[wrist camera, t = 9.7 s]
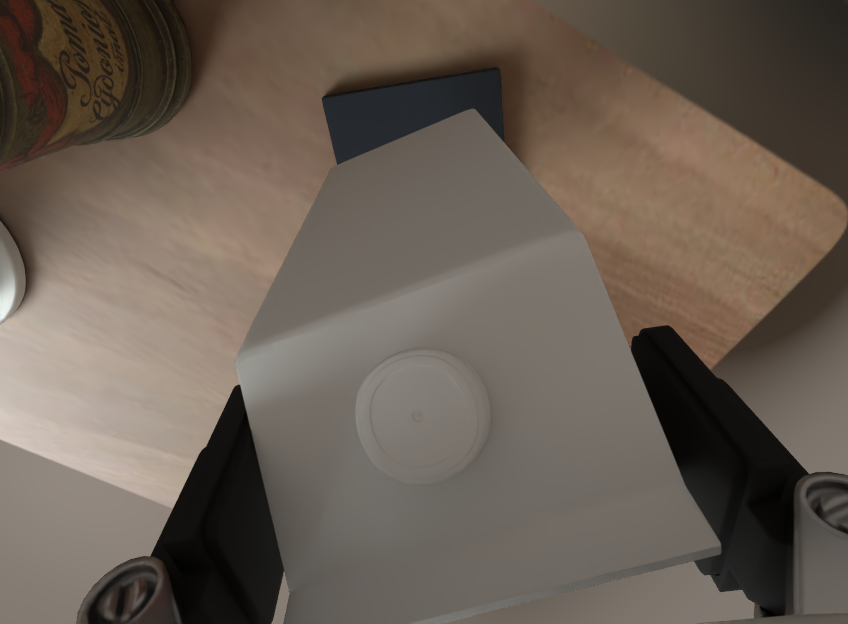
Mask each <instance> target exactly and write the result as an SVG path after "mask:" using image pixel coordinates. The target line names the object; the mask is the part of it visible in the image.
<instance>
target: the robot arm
mask: <svg viewBox="0 0 848 624" xmlns="http://www.w3.org/2000/svg"><path fill="white" fill-rule="evenodd" d="M25 285H26V276H25V269H24V263H23V261H22V258H21V255H20V252H19V249H18V247H17V245H16V244H15V242H14V240H13V238H12V236H11V235H10V233H9V231H8V230H7V229H6V227H5V226H4V225H3V223H2V222H1V221H0V324H1V323H3V322H4V321H5V320H7V319H8V318H9V317H11V316H12V314H13V313H14V312H15V311H16V310H17V308H18V307H19V306H20V303H21V301H22V299H23V296H24V293H25ZM631 353H632V355H633V358H634V360H635V363H636V365H637V367H638V370H639V372H640V375H641V377H642V380H643V382H644V385H645V387H646V390H647V392H648V395H649V397H650V400H651V402H652V404H653V407H654V409H655V412H656V414H657V417H658V419H659V422H660V424H661V427H662V429H663V432H664V434H665V436H666V439H667V441H668V444H669V446H670V449H671V451H672V454H673V456H674V459H675V461H676V464H677V466H678V469H679V471H680V474H681V476H682V478H683V481H684V483H685V486H686V487H687V489H688V491H689V492H690V494H691V496H692V497H693V499H694V500H695V502H696V504H697V505H698V507H699V509H700V510H701V512H702V513H703V515H704V517H705V518H706V520H707V522H708V523H709V525H710V526H711V528H712V530H713V531H714V533H715V535H716V536H717V538H718V539H719V541H720V543H721V554H720V555H716V556H712V557H708V558H704V559H700V560H696V561H694V562H695V563H696V565H697V567H698V569H699V570H700V571H701V572H702V574H704V575H711V577H712V579H713V581H714V582H715V584H716V586H717V588H718V589H719V591H720V592H725V591H733V590H743V592H744V593H745V595H746V597H747V598H748V599H749V600H751V601H752V602H754V603H755V607H754V618H753V619H743V620H731V621H720V622H709V623H699V624H848V475H844V474H838V473H832V472H815V473H812V474H809V473H808V472H807V471H806V470H805V469H804V468H803V467H802V466H801V465H800V464H799V462H798V461H797V460H796V459H795V458H794V457H793V456H792V455H791V454H790V453H789V451H788V450H787V449H786V448H785V447H784V446H783V445H782V444H781V443H780V441H779V440H778V439H777V438H776V437H775V436H774V435H773V434H772V432H771V431H769V429H768V428H767V427H766V426H765V425H764V424H763V423H762V421H761V420H760V419H759V418H758V417H757V416H756V415H755V414H754V413H753V412H752V410H751V409H750V408H749V407H748V406H747V405H746V404H745V403H744V402H743V400H742V399H741V398H740V397H739V396H738V395H737V394H736V393H735V392H734V391H733V389H732V388H731V387H730V386H729V385H728V384H727V383H726V382H724V381H723V380H722V379H719V378H716V377H715V375H714V374H713V373H712V372H711V371H710V370H709V369H708V368H707V366H706V365H705V364H704V363H703V362H702V361H701V360H700V359H699V357H698V356H697V355H696V354H695V353H694V352H693V351H692V350H691V348H690V347H689V346H688V345H687V344H686V343H685V342H684V341H683V339H682V338H681V337H680V336H679V335H678V334H677V333H676V332H675V330H674V329H673V328H672V327H670V326H668V325H666V326H659V327H651V328H644V329H642V330H641V331H640V333H639V336H634V337H633V339H632V344H631ZM283 572H284V567H283V563H282V559H281V555H280V551H279V546H278V542H277V538H276V534H275V529H274V525H273V521H272V517H271V513H270V508H269V504H268V500H267V496H266V491H265V487H264V483H263V479H262V475H261V470H260V466H259V462H258V458H257V454H256V449H255V445H254V441H253V437H252V430H251V428H250V424H249V420H248V416H247V411H246V407H245V403H244V399H243V395H242V390H241V386H240V385H237V386H235V387H234V389H233V391H232V393H231V395H230V397H229V399H228V401H227V404H226V406H225V408H224V410H223V412H222V414H221V416H220V418H219V421H218V423H217V425H216V427H215V429H214V431H213V433H212V435H211V438H210V440H209V442H208V444H207V446H206V447H205V448H204V449H202V451H201V452H200V454H199V456H198V458H197V460H196V462H195V464H194V466H193V468H192V470H191V472H190V475H189V477H188V479H187V481H186V483H185V485H184V487H183V489H182V491H181V493H180V495H179V498H178V500H177V502H176V504H175V506H174V508H173V510H172V512H171V514H170V516H169V518H168V521H167V523H166V525H165V527H164V529H163V531H162V533H161V535H160V537H159V540H158V541H157V543H156V546H155V548H154V550H153V552H152V554H151V556H150V557H148V556H143V557H139V558H134V559H130V560H128V561H126V562H124V563H122V564H120V565H118V566H117V567H115V568H114V569H113V570H111V571H109V572H108V573H107V574H105V575H104V576H103V577H102V578H101V579H100V580H99V581H98V582H97V583H96V584H95V585H94V586H93V587H92V589H91V590H90V591H89V593H88V594H87V595H86V597H85V598H84V600H83V602H82V604H81V607H80V609H79V611H78V615H77V622H76V624H271V623H272V621H273V617H274V613H275V609H276V604H277V600H278V595H279V590H280V586H281V581H282V577H283Z"/></svg>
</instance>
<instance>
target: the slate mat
mask: <svg viewBox="0 0 848 624" xmlns="http://www.w3.org/2000/svg"><path fill="white" fill-rule="evenodd" d="M322 102H323V106H324V110H325V115H326V119H327V123H328V127H329V132H330V136H331V140H332V145H333V149H334V153H335V157H336V162H337V165H338V164H341V163H343V162H345V161H347V160H350V159H352V158H355V157H357V156H359V155H362V154H364V153H366V152H369V151H371V150H373V149H376V148H378V147H381V146H383V145H385V144H388V143H390V142H392V141H395V140H397V139H399V138H402V137H404V136H407V135H409V134H411V133H414V132H416V131H418V130H421V129H423V128H425V127H428V126H430V125H433V124H435V123H437V122H440V121H442V120H444V119H447V118H449V117H451V116H454V115H456V114H459V113H461V112H464V111H466V110H469V109H475V110H476V111H477V112H478V113H479V114H480V115H481V116H482V118H483V119H484V120H485V121H486V122H487V123H488V125H489V126H490V127H491V128H492V129H493V130H494V131H495V133H496V134H497V135H498V136H499V137H500V138H501V140H502V141H503V142H504V130H503V112H502V95H501V78H500V69H499V68H490V69H484V70H478V71H472V72H466V73H460V74H454V75H448V76H442V77H436V78H429V79H423V80H417V81H411V82H405V83H399V84H393V85H387V86H381V87H375V88H369V89H363V90H357V91H351V92H344V93H338V94H332V95H326V96H324V97H323V98H322Z"/></svg>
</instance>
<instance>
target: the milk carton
mask: <svg viewBox="0 0 848 624" xmlns="http://www.w3.org/2000/svg"><path fill="white" fill-rule="evenodd" d="M235 363H236V368H237V373H238V377H239V382H240V386H241V390H242V395H243V399H244V403H245V407H246V411H247V416H248V420H249V424H250V428H251V430H252V437H253V441H254V445H255V449H256V454H257V458H258V462H259V466H260V470H261V475H262V479H263V483H264V487H265V491H266V496H267V500H268V504H269V508H270V513H271V517H272V521H273V525H274V529H275V534H276V538H277V542H278V546H279V551H280V555H281V559H282V563H283V567H284V572H285V576H286V580H287V584H288V588H289V592H290V595H289V600H288V604H287V609H286V614H285V619H284V624H441V623H445V622H449V621H453V620H457V619H461V618H465V617H469V616H474V615H478V614H481V613H486V612H490V611H493V610H498V609H502V608H506V607H510V606H514V605H518V604H522V603H526V602H530V601H534V600H537V599H542V598H546V597H550V596H554V595H558V594H562V593H566V592H570V591H574V590H578V589H583V588H587V587H591V586H595V585H599V584H602V583H607V582H611V581H615V580H619V579H623V578H627V577H630V576H635V575H639V574H643V573H647V572H651V571H655V570H659V569H663V568H667V567H671V566H675V565H679V564H683V563H688V562H691V561H696V560H700V559H704V558H708V557H712V556H716V555H720V554H721V543H720V541H719V539H718V538H717V536H716V535H715V533H714V531H713V530H712V528H711V526H710V525H709V523H708V522H707V520H706V518H705V517H704V515H703V513H702V512H701V510H700V509H699V507H698V505H697V504H696V502H695V500H694V499H693V497H692V496H691V494H690V492H689V491H688V489H687V487H686V486H685V483H684V481H683V478H682V476H681V474H680V471H679V469H678V466H677V464H676V461H675V459H674V456H673V454H672V451H671V449H670V446H669V444H668V441H667V439H666V436H665V434H664V432H663V429H662V427H661V424H660V422H659V419H658V417H657V414H656V412H655V409H654V407H653V404H652V402H651V400H650V397H649V395H648V392H647V390H646V387H645V385H644V382H643V380H642V377H641V375H640V372H639V370H638V367H637V365H636V363H635V360H634V358H633V355H632V353H631V350H630V348H629V345H628V343H627V340H626V338H625V335H624V333H623V330H622V328H621V326H620V323H619V321H618V318H617V316H616V313H615V311H614V308H613V306H612V303H611V301H610V298H609V296H608V293H607V291H606V289H605V286H604V284H603V281H602V279H601V276H600V274H599V271H598V269H597V266H596V264H595V261H594V259H593V256H592V254H591V252H590V249H589V247H588V244H587V242H586V239H585V237H584V235H583V233H582V232H580V231H579V230H578V228H577V227H576V226H575V225H574V223H573V222H572V221H571V220H570V218H569V217H568V216H567V215H566V214H565V212H564V211H563V210H562V209H561V208H560V206H559V205H558V204H557V203H556V202H555V201H554V199H553V198H552V197H551V196H550V195H549V194H548V193H547V191H546V190H545V189H544V188H543V187H542V186H541V185H540V183H539V182H538V181H537V180H536V179H535V178H534V176H533V175H532V174H531V173H530V172H529V171H528V170H527V168H526V167H525V166H524V165H523V164H522V163H521V161H520V160H519V159H518V158H517V157H516V156H515V155H514V153H513V152H512V151H511V150H510V149H509V148H508V146H507V145H506V144H505V143H504V142H503V141H502V140H501V138H500V137H499V136H498V135H497V134H496V133H495V131H494V130H493V129H492V128H491V127H490V126H489V125H488V123H487V122H486V121H485V120H484V119H483V118H482V116H481V115H480V114H479V113H478V112H477V111H476V110H475V109H469V110H466V111H464V112H461V113H459V114H456V115H454V116H451V117H449V118H447V119H444V120H442V121H440V122H437V123H435V124H433V125H430V126H428V127H425V128H423V129H421V130H418V131H416V132H414V133H411V134H409V135H407V136H404V137H402V138H399V139H397V140H395V141H392V142H390V143H388V144H385V145H383V146H381V147H378V148H376V149H373V150H371V151H369V152H366V153H364V154H362V155H359V156H357V157H355V158H352V159H350V160H347V161H345V162H343V163H341V164H338V165H336V166H334V167H333V168H331V170H330V172H329V174H328V176H327V178H326V180H325V182H324V183H323V185H322V187H321V189H320V191H319V193H318V195H317V197H316V199H315V201H314V203H313V205H312V207H311V209H310V211H309V213H308V215H307V217H306V219H305V221H304V223H303V225H302V227H301V229H300V231H299V233H298V235H297V237H296V239H295V241H294V242H293V244H292V246H291V248H290V250H289V252H288V254H287V256H286V258H285V260H284V262H283V264H282V266H281V268H280V270H279V272H278V274H277V276H276V278H275V280H274V282H273V284H272V286H271V288H270V290H269V292H268V294H267V296H266V298H265V300H264V301H263V303H262V305H261V307H260V309H259V311H258V313H257V315H256V317H255V319H254V321H253V323H252V325H251V327H250V329H249V331H248V333H247V335H246V338H245V340H244V342H243V344H242V346H241V348H240V350H239V353H238V355H237V357H236V360H235Z"/></svg>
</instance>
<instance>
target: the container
mask: <svg viewBox="0 0 848 624" xmlns="http://www.w3.org/2000/svg"><path fill="white" fill-rule="evenodd" d="M191 79H192V53H191V47H190V43H189V39H188V35H187V32H186V29H185V27H184V24H183V22H182V20H181V18H180V16H179V14H178V12H177V10H176V8H175V7H174V5H173V4H172V2H171V1H170V0H0V172H1V171H4V170H7V169H10V168H13V167H16V166H18V165H21V164H24V163H27V162H29V161H32V160H34V159H37V158H39V157H42V156H44V155H47V154H50V153H54V152H57V151H60V150H63V149H66V148H68V147H71V146H81V145H89V144H94V143H98V142H101V141H103V140H108V141H111V140H122V139H126V138H130V137H138V136H142V135H146V134H149V133H151V132H153V131H156V130H158V129H159V128H161V127H162V126H164V125H165V124H167V123H168V122H169V121H170V120H171V119H172V118H173V117H174V116H175V115H176V114H177V112H178V111H179V110H180V108H181V107H182V105H183V103H184V101H185V99H186V97H187V94H188V91H189V88H190V84H191Z"/></svg>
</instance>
